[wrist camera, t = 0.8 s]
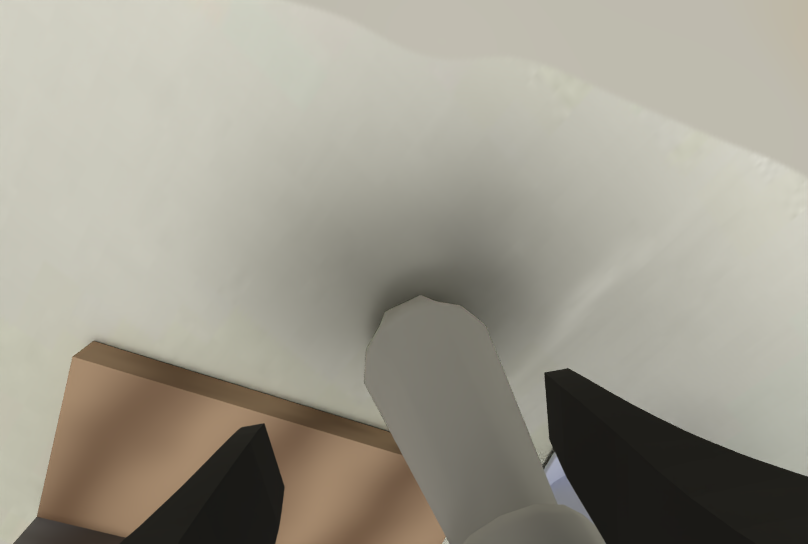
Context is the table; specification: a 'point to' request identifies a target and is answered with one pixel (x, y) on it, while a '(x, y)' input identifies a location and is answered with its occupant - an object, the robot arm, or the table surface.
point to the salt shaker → (464, 429)
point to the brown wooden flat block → (197, 441)
